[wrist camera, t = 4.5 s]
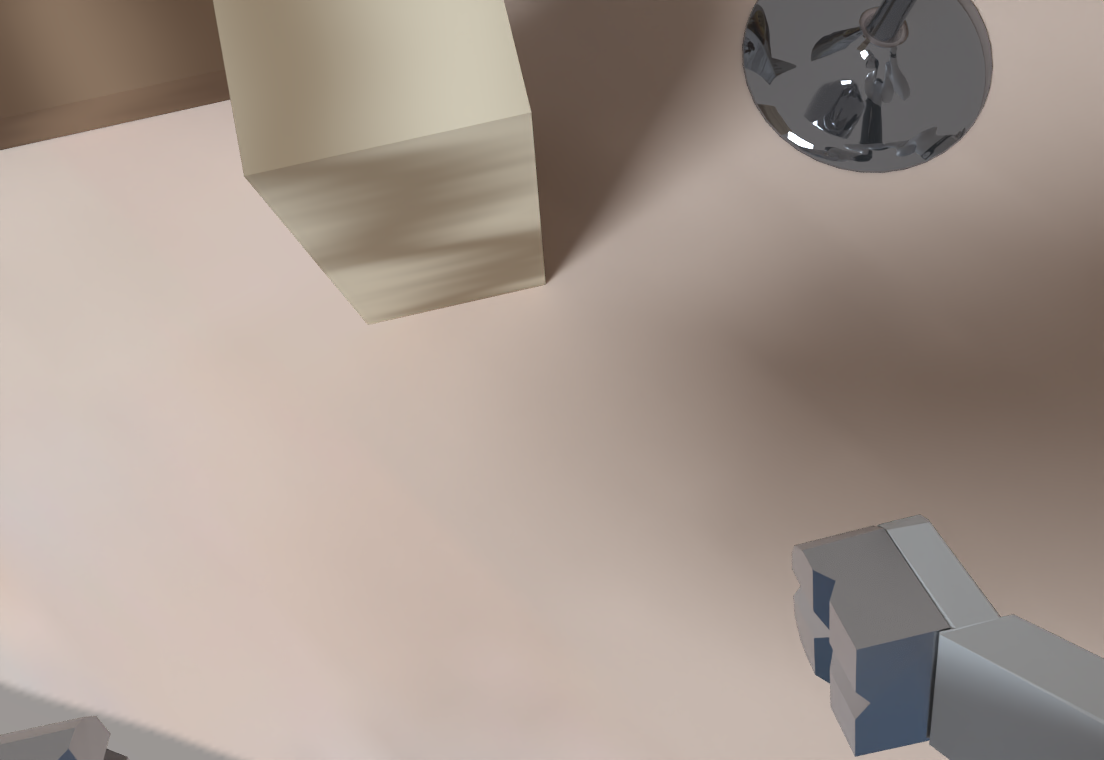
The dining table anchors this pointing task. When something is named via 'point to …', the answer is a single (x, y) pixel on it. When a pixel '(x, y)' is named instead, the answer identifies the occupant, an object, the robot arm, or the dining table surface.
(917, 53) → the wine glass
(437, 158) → the maple block
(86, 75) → the walnut board
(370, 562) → the dining table surface
